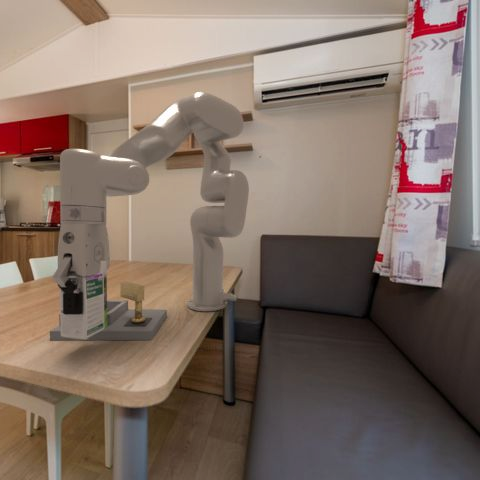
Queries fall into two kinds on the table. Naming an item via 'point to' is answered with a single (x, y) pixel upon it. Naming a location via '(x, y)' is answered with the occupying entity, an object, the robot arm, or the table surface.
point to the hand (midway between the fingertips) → (84, 306)
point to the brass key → (134, 299)
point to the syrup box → (88, 308)
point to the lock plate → (122, 324)
